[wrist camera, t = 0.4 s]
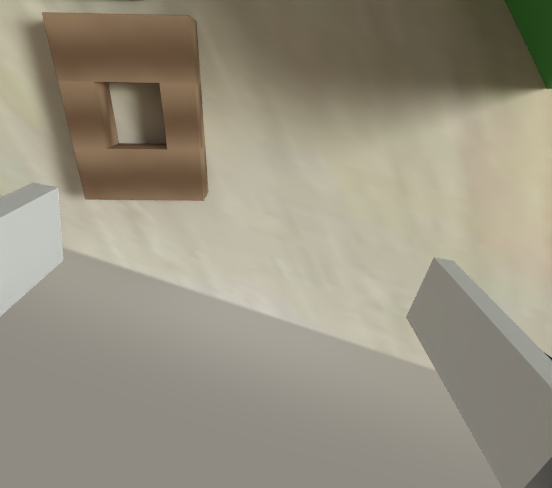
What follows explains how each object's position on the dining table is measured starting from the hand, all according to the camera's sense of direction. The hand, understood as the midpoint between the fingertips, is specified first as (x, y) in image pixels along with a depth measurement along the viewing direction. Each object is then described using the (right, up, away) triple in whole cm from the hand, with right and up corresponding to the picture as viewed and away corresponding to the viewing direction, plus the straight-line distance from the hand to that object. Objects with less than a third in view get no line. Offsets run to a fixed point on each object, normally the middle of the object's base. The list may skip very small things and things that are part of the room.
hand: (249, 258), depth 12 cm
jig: (-12, +14, +22) cm, 29 cm away
